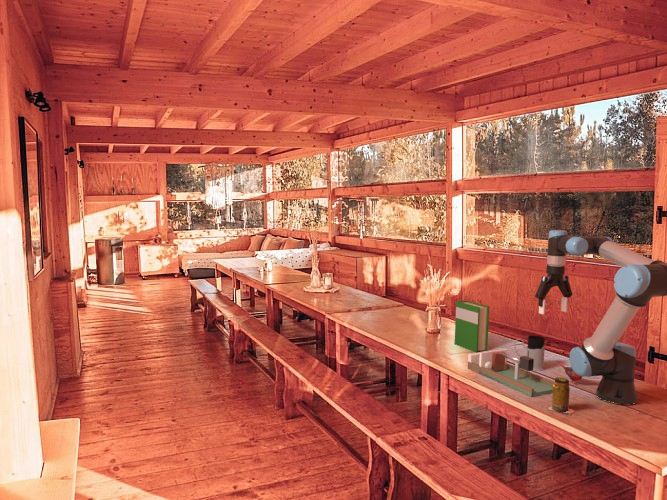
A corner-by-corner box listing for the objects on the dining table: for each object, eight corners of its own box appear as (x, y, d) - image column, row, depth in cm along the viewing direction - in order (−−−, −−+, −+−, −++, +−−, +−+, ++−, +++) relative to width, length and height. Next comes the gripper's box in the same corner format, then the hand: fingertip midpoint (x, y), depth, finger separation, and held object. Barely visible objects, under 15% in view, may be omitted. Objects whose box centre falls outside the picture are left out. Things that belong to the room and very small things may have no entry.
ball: (488, 366, 263) (494, 371, 260) (482, 367, 262) (487, 372, 258) (490, 359, 262) (496, 364, 259) (484, 360, 260) (489, 365, 257)
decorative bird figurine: (581, 389, 237) (583, 366, 236) (555, 375, 254) (556, 354, 253) (587, 388, 238) (589, 366, 237) (560, 375, 255) (561, 354, 254)
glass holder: (545, 371, 260) (547, 340, 259) (514, 369, 263) (516, 338, 262) (542, 366, 269) (544, 336, 267) (512, 363, 272) (513, 333, 270)
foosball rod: (535, 382, 239) (536, 358, 238) (524, 384, 236) (525, 360, 235) (501, 368, 257) (502, 346, 256) (491, 370, 255) (492, 347, 253)
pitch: (558, 391, 233) (559, 368, 232) (531, 396, 227) (532, 373, 226) (492, 364, 269) (493, 344, 268) (467, 368, 262) (468, 348, 261)
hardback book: (487, 351, 293) (489, 306, 291) (476, 352, 290) (478, 307, 288) (464, 342, 309) (466, 300, 307) (454, 344, 306) (456, 301, 303)
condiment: (554, 404, 219) (556, 375, 218) (576, 410, 213) (578, 380, 212) (547, 409, 214) (549, 379, 213) (569, 415, 208) (571, 384, 207)
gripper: (569, 263, 252) (566, 309, 254) (528, 265, 241) (525, 312, 243) (582, 265, 245) (579, 312, 248) (541, 267, 235) (538, 316, 237)
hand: (552, 312), depth 246 cm, fingers open, 13 cm apart
